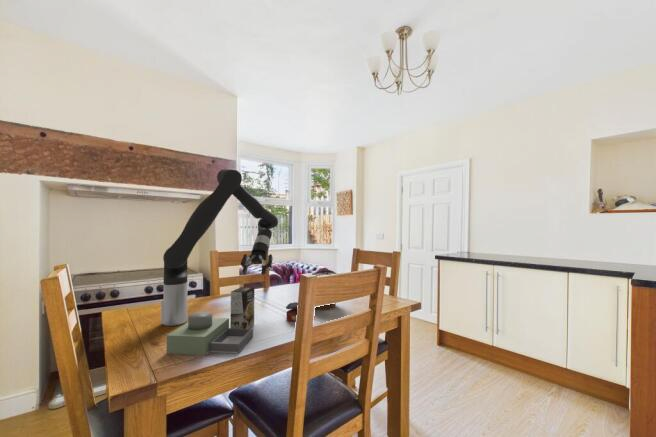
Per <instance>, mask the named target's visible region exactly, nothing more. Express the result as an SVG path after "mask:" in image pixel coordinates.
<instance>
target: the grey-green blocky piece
mask: <svg viewBox="0 0 656 437" xmlns="http://www.w3.org/2000/svg"><path fill="white" fill-rule="evenodd" d="M253 337H254V329H253V328H250V329H239V328H230V318H229V317H227V318H226V317H213V313H212V312H211V311H198V312H193V313H191V314H188V315H187V322H185V323H183V325H182V326H181V325H180V327H178V328H176V329H175V330H173V331H171V332H169V333H168V334H166V354H169V355H170V354H172V355H193V356H194V355H198V356H206V355H207V354H208V353H223V354H224V353H227V354H228V353H229V354H240V352H241V351H242V350H243V349H244V348H245V346H246V345H247V344H248V343H249V342H250V341H251V340H252V339H253Z"/></svg>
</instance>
